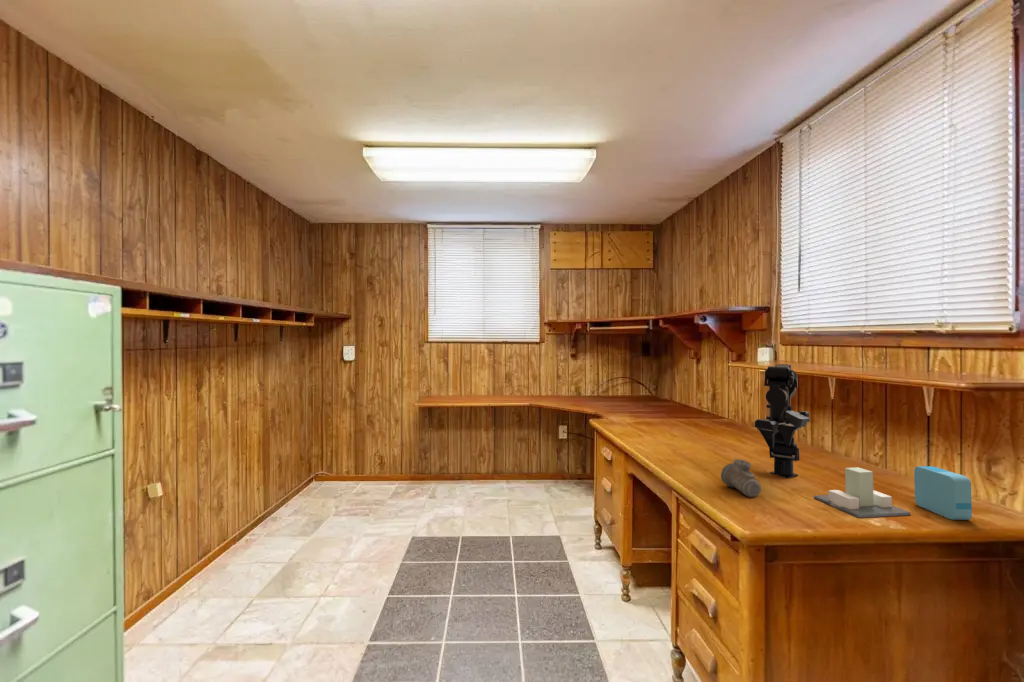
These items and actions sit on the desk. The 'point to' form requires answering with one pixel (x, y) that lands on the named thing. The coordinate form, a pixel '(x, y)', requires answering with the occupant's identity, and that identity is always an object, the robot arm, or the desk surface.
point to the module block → (860, 485)
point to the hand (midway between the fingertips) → (779, 447)
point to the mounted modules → (853, 501)
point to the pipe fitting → (741, 478)
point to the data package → (943, 492)
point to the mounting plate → (865, 509)
